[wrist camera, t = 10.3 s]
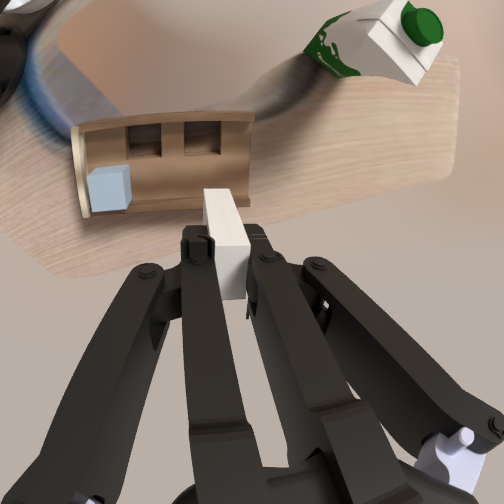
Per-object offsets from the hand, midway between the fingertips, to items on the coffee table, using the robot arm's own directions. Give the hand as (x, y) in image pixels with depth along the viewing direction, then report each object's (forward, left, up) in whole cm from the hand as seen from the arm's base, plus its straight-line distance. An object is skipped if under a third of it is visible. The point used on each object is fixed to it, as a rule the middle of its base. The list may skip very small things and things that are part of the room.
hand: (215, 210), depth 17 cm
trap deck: (+2, -6, -25) cm, 26 cm away
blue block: (+5, -13, -23) cm, 27 cm away
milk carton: (-16, +18, -25) cm, 35 cm away
